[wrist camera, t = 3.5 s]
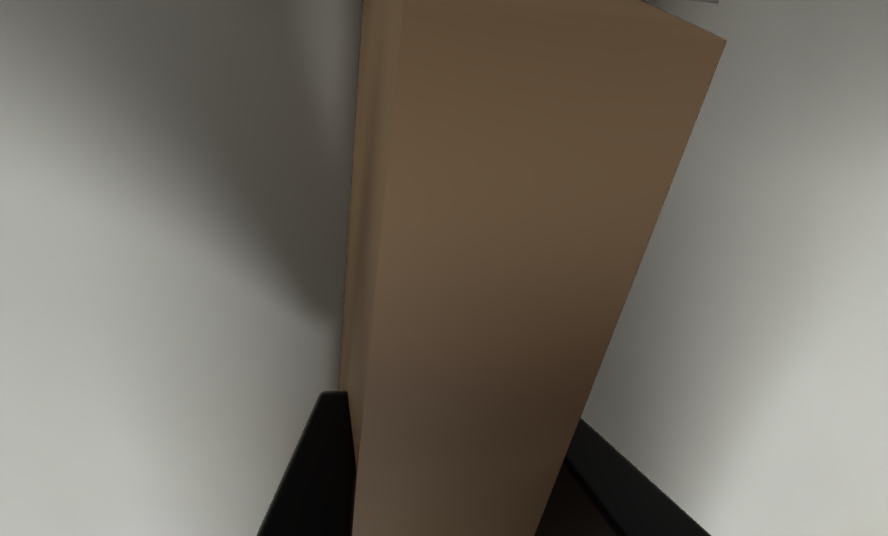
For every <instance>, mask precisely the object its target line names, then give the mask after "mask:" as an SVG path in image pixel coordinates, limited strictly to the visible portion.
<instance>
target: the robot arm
mask: <svg viewBox="0 0 888 536" xmlns="http://www.w3.org/2000/svg"><path fill="white" fill-rule="evenodd" d="M356 477H357V474H356V462H355V452H354V443H353V435H352V426H351V417H350V409H349V400H348V393H347V391H324V392H322V393H321V394H320V395H319V396H318V399H317V401H316V403H315V405H314V408H313V410H312V412H311V414H310V417H309V419H308V421H307V423H306V425H305V428H304V430H303V432H302V434H301V437H300V439H299V441H298V443H297V446H296V448H295V450H294V452H293V455H292V457H291V459H290V461H289V464H288V466H287V468H286V470H285V473H284V475H283V477H282V479H281V482H280V484H279V486H278V488H277V491H276V493H275V495H274V497H273V500H272V502H271V504H270V506H269V509H268V511H267V513H266V515H265V518H264V520H263V522H262V524H261V527H260V529H259V531H258V533H257V536H352V531H353V517H354V504H355V490H356ZM534 536H711V535H710V534H709V533H708V532H707V531H705V530H704V529H703V528H702V527H701V526H700V525H699V524H698V523H697V522H696V521H694V520H693V519H692V518H691V517H690V516H689V515H688V514H687V513H686V512H684V511H683V510H682V509H681V508H680V507H679V506H678V505H677V504H676V503H675V502H673V501H672V500H671V499H670V498H669V497H668V496H667V495H666V494H665V493H663V492H662V491H661V490H660V489H659V488H658V487H657V486H656V485H655V484H653V483H652V482H651V481H650V480H649V479H648V478H647V477H646V476H645V475H644V474H642V473H641V472H640V471H639V470H638V469H637V468H636V467H635V466H634V465H632V464H631V463H630V462H629V461H628V460H627V459H626V458H625V457H624V456H623V455H621V454H620V453H619V452H618V451H617V450H616V449H615V448H614V447H613V446H611V445H610V444H609V443H608V442H607V441H606V440H605V439H604V438H603V437H602V436H600V435H599V434H598V433H597V432H596V431H595V430H594V429H593V428H592V427H590V426H589V425H588V424H587V423H586V422H585V421H584V420H583V419H582V418H580V419H579V422H578V424H577V427H576V429H575V432H574V435H573V437H572V440H571V442H570V445H569V447H568V450H567V453H566V455H565V458H564V460H563V463H562V465H561V468H560V471H559V473H558V476H557V478H556V481H555V483H554V486H553V489H552V491H551V494H550V496H549V499H548V501H547V504H546V507H545V509H544V512H543V514H542V517H541V519H540V522H539V525H538V527H537V530H536V532H535V535H534Z"/></svg>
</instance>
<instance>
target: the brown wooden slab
mask: <svg viewBox="0 0 888 536" xmlns="http://www.w3.org/2000/svg"><path fill="white" fill-rule="evenodd" d="M694 1H702V2H709V3H717V4H718V2H719V0H694ZM726 41H727V40H725V39H723V38H721V37H719V36H716V35H714V34H712V33H710V32H708V31H706V30H704V29H701V28H699V27H697V26H695V25H693V24H691V23H688V22H686V21H684V20H682V19H680V18H678V17H676V16H673V15H671V14H669V13H667V12H665V11H663V10H661V9H658V8H656V7H654V6H652V5H650V4H648V3H645V2H643V1H641V0H363V9H362V25H361V41H360V56H359V72H358V88H357V104H356V119H355V135H354V151H353V166H352V182H351V198H350V213H349V229H348V245H347V261H346V276H345V292H344V308H343V323H342V339H341V355H340V371H339V386H338V391H347V393H348V400H349V409H350V417H351V426H352V435H353V443H354V452H355V462H356V474H357V477H356V490H355V504H354V517H353V531H352V536H534V535H535V532H536V530H537V527H538V525H539V522H540V519H541V517H542V514H543V512H544V509H545V507H546V504H547V501H548V499H549V496H550V494H551V491H552V489H553V486H554V483H555V481H556V478H557V476H558V473H559V471H560V468H561V465H562V463H563V460H564V458H565V455H566V453H567V450H568V447H569V445H570V442H571V440H572V437H573V435H574V432H575V429H576V427H577V424H578V422H579V419H580V417H581V414H582V411H583V409H584V406H585V404H586V401H587V399H588V396H589V393H590V391H591V388H592V386H593V383H594V381H595V378H596V375H597V373H598V370H599V368H600V365H601V363H602V360H603V357H604V355H605V352H606V350H607V347H608V345H609V342H610V340H611V337H612V334H613V332H614V329H615V327H616V324H617V322H618V319H619V316H620V314H621V311H622V309H623V306H624V304H625V301H626V298H627V296H628V293H629V291H630V288H631V286H632V283H633V280H634V278H635V275H636V273H637V270H638V268H639V265H640V262H641V260H642V257H643V255H644V252H645V250H646V247H647V244H648V242H649V239H650V237H651V234H652V232H653V229H654V226H655V224H656V221H657V219H658V216H659V214H660V211H661V208H662V206H663V203H664V201H665V198H666V196H667V193H668V190H669V188H670V185H671V183H672V180H673V178H674V175H675V172H676V170H677V167H678V165H679V162H680V160H681V157H682V155H683V152H684V149H685V147H686V144H687V142H688V139H689V137H690V134H691V131H692V129H693V126H694V124H695V121H696V119H697V116H698V113H699V111H700V108H701V106H702V103H703V101H704V98H705V95H706V93H707V90H708V88H709V85H710V83H711V80H712V77H713V75H714V72H715V70H716V67H717V65H718V62H719V59H720V57H721V54H722V52H723V49H724V47H725V44H726Z"/></svg>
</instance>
